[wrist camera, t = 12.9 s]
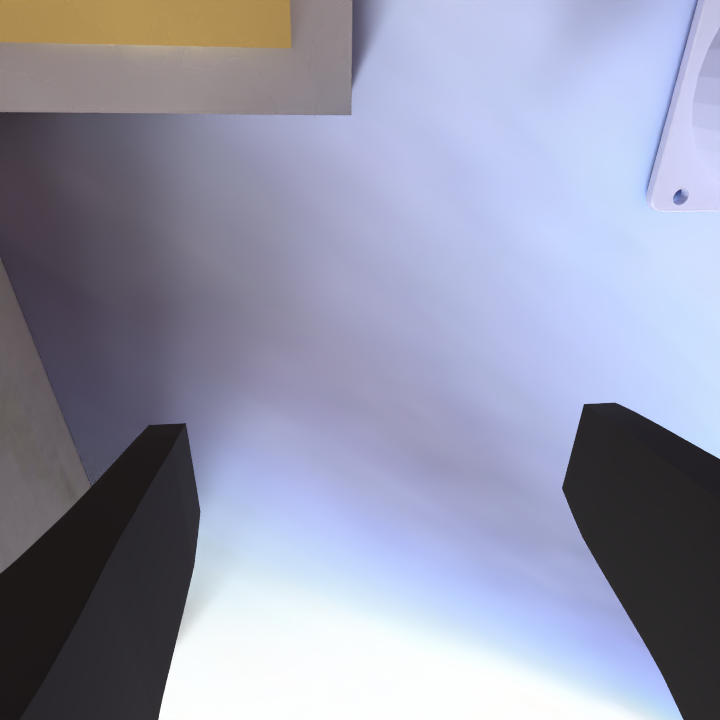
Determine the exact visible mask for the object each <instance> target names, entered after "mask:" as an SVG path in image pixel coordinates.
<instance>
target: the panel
mask: <svg viewBox="0 0 720 720" xmlns="http://www.w3.org/2000/svg"><path fill="white" fill-rule="evenodd" d="M351 94H352V0H0V112H61V113H170V114H279V115H351Z"/></svg>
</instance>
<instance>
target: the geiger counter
mask: <svg viewBox="0 0 720 720" xmlns="http://www.w3.org/2000/svg"><path fill="white" fill-rule="evenodd" d="M90 488H91V485H90V483H89V480H88V478H87V475H86V473H85V470H84V467H83V465H82V462H81V460H80V457H79V455H78V452H77V450H76V447H75V445H74V442H73V440H72V437H71V435H70V432H69V430H68V427H67V424H66V422H65V419H64V417H63V414H62V412H61V409H60V407H59V404H58V402H57V399H56V397H55V394H54V392H53V389H52V387H51V384H50V381H49V379H48V376H47V374H46V371H45V369H44V366H43V364H42V361H41V359H40V356H39V354H38V351H37V349H36V346H35V344H34V341H33V338H32V336H31V333H30V331H29V328H28V326H27V323H26V321H25V318H24V316H23V313H22V311H21V308H20V306H19V303H18V301H17V298H16V295H15V293H14V290H13V288H12V285H11V283H10V280H9V278H8V275H7V273H6V270H5V268H4V265H3V263H2V260H1V257H0V573H2V572H3V571H4V570H5V569H6V568H7V567H9V566H10V565H11V564H12V563H13V562H14V561H15V560H16V559H18V558H19V557H20V556H21V555H22V554H23V553H24V552H25V551H26V550H27V549H28V548H29V547H30V546H32V545H33V544H34V543H35V542H36V541H37V540H38V539H39V538H40V537H41V536H42V535H43V534H44V533H45V532H46V531H48V530H49V529H50V528H51V527H52V526H53V525H54V524H55V523H56V522H57V521H58V520H59V519H60V518H61V517H62V516H63V515H64V514H65V513H66V512H67V511H68V510H69V509H70V508H71V507H72V506H73V505H74V504H75V503H76V502H77V501H78V500H79V499H80V498H81V497H82V496H83V495H84V494H85V493H86V492H87V491H88V490H89V489H90Z"/></svg>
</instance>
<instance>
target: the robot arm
mask: <svg viewBox="0 0 720 720" xmlns="http://www.w3.org/2000/svg"><path fill="white" fill-rule="evenodd" d="M680 189H681V195H680V197H679V199H677V200H676V201H674V202H673V196H674V195H675V193H676V192H677V191H678V190H680ZM646 202H647V205H648V206H649V207H650V208H651V209H653V210H656V211H659V212H708V211H720V0H698V3H697V7H696V10H695V14H694V18H693V22H692V25H691V29H690V33H689V37H688V40H687V44H686V48H685V52H684V55H683V59H682V63H681V67H680V70H679V74H678V78H677V81H676V85H675V89H674V93H673V96H672V100H671V104H670V108H669V111H668V115H667V119H666V123H665V126H664V130H663V134H662V138H661V141H660V145H659V149H658V153H657V156H656V160H655V164H654V168H653V171H652V175H651V179H650V183H649V186H648V190H647V194H646ZM562 489H563V492H564V494H565V497H566V499H567V502H568V504H569V507H570V509H571V512H572V514H573V517H574V519H575V521H576V524H577V526H578V528H579V530H580V533H581V535H582V537H583V539H584V541H585V542H586V544H587V546H588V548H589V550H590V551H591V553H592V555H593V556H594V558H595V560H596V562H597V563H598V565H599V567H600V569H601V570H602V572H603V574H604V575H605V577H606V579H607V580H608V582H609V584H610V586H611V587H612V589H613V591H614V592H615V594H616V596H617V597H618V599H619V601H620V602H621V604H622V606H623V607H624V609H625V611H626V612H627V614H628V616H629V618H630V619H631V621H632V623H633V624H634V626H635V628H636V629H637V631H638V633H639V634H640V636H641V638H642V639H643V641H644V643H645V645H646V646H647V648H648V650H649V651H650V653H651V655H652V657H653V659H654V661H655V662H656V664H657V666H658V668H659V670H660V672H661V674H662V675H663V677H664V679H665V681H666V684H667V686H668V688H669V690H670V692H671V694H672V696H673V698H674V701H675V703H676V705H677V707H678V709H679V711H680V713H681V715H682V717H683V720H720V459H719V458H717V457H715V456H713V455H711V454H710V453H708V452H706V451H704V450H702V449H701V448H699V447H697V446H695V445H694V444H692V443H690V442H688V441H686V440H685V439H683V438H681V437H679V436H678V435H676V434H674V433H672V432H671V431H669V430H667V429H665V428H663V427H662V426H660V425H658V424H656V423H654V422H653V421H651V420H649V419H647V418H645V417H643V416H641V415H640V414H638V413H636V412H634V411H632V410H630V409H628V408H626V407H623V406H621V405H619V404H617V403H600V404H584V406H583V410H582V414H581V418H580V422H579V426H578V429H577V433H576V437H575V441H574V445H573V449H572V452H571V456H570V460H569V464H568V468H567V472H566V475H565V479H564V483H563V487H562ZM199 520H200V507H199V501H198V494H197V488H196V482H195V476H194V470H193V464H192V458H191V452H190V446H189V440H188V434H187V428H186V423H184V424H163V425H149V426H148V427H147V428H146V429H145V430H144V431H143V432H142V433H141V434H140V435H139V436H138V437H137V438H136V439H135V440H134V442H133V443H132V444H131V445H130V446H129V447H128V448H127V449H126V450H125V451H124V452H123V454H122V455H121V456H120V457H119V458H118V459H117V460H116V461H115V462H114V463H113V464H112V465H111V467H110V468H109V469H108V470H107V471H106V472H105V473H104V474H103V475H102V476H101V477H100V478H99V479H98V480H97V481H96V483H95V484H94V485H93V486H92V487H91V488H90V489H89V490H88V491H87V492H86V493H85V494H84V495H83V496H82V497H81V498H80V499H79V500H78V501H77V502H76V503H75V504H74V505H73V506H72V507H71V508H70V509H69V510H68V511H67V512H66V513H65V514H64V515H63V516H62V517H61V518H60V519H59V520H58V521H57V522H56V523H55V524H54V525H53V526H52V527H51V528H50V529H49V530H48V531H46V532H45V533H44V534H43V535H42V536H41V537H40V538H39V539H38V540H37V541H36V542H35V543H34V544H33V545H32V546H30V547H29V548H28V549H27V550H26V551H25V552H24V553H23V554H22V555H21V556H20V557H19V558H18V559H16V560H15V561H14V562H13V563H12V564H11V565H10V566H9V567H7V568H6V569H5V570H4V571H3V572H2V573H0V720H158V718H159V713H160V708H161V703H162V698H163V694H164V690H165V685H166V681H167V677H168V673H169V669H170V665H171V661H172V657H173V652H174V648H175V644H176V640H177V636H178V632H179V628H180V624H181V619H182V615H183V611H184V607H185V603H186V598H187V594H188V590H189V586H190V582H191V577H192V573H193V568H194V563H195V555H196V547H197V538H198V529H199Z"/></svg>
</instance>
